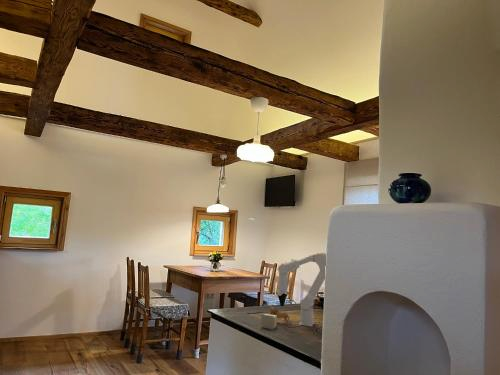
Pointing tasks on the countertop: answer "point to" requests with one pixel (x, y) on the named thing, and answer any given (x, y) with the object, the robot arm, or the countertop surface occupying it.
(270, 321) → the book row
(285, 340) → the countertop surface
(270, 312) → the lion figurine
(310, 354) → the countertop surface
